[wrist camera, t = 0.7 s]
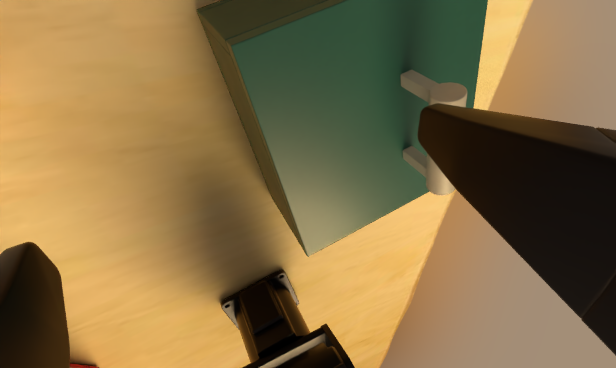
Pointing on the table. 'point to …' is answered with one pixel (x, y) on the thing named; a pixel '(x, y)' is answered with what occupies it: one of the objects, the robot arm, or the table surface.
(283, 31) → the lid
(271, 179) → the box
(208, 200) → the table surface
